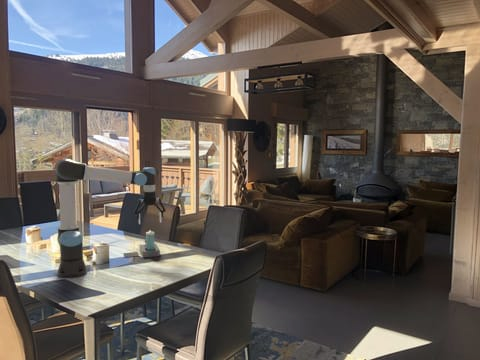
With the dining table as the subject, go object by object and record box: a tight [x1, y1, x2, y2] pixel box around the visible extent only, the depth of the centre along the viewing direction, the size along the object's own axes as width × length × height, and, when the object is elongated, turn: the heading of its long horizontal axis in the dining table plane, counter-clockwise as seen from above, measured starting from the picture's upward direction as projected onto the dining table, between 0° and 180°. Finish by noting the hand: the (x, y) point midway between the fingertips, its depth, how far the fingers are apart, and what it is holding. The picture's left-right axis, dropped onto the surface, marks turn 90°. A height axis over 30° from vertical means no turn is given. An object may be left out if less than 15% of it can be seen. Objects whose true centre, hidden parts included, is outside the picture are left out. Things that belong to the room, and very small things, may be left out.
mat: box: [122, 251, 140, 259], centre depth 249 cm, size 9×9×1 cm
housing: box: [139, 243, 161, 259], centre depth 253 cm, size 17×11×4 cm, turn 22°
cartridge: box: [145, 229, 155, 251], centre depth 249 cm, size 5×5×16 cm
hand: (150, 223), depth 247 cm, fingers open, 13 cm apart
